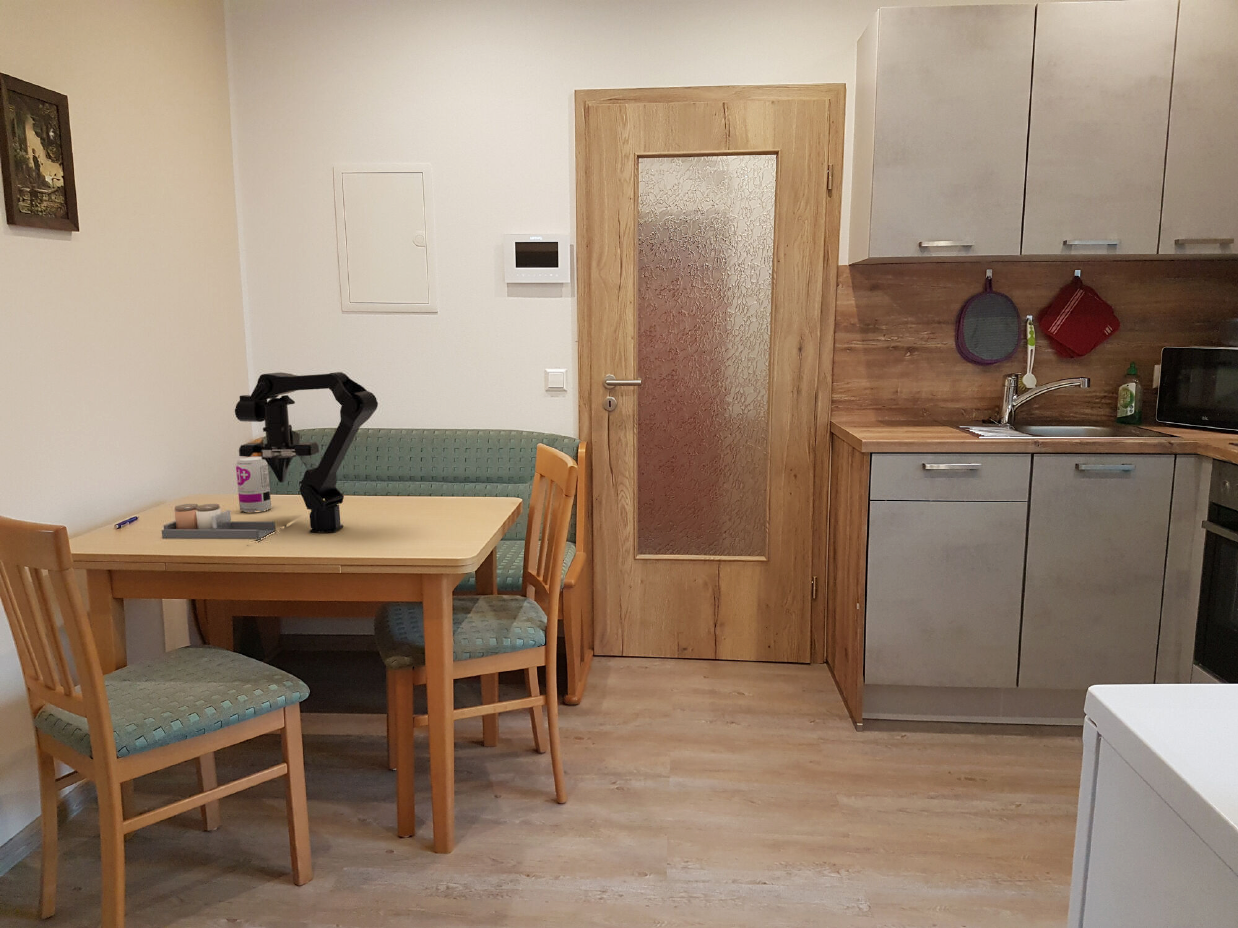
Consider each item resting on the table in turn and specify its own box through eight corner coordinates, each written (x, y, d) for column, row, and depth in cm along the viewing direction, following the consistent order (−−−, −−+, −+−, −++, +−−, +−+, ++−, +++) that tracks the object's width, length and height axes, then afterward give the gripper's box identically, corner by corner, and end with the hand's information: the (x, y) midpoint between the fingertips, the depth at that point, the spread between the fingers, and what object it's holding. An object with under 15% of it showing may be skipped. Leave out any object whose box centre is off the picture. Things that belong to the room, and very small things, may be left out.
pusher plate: (231, 529, 215) (230, 510, 214) (217, 536, 208) (215, 516, 207) (228, 529, 215) (226, 510, 214) (213, 536, 208) (211, 516, 207)
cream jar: (226, 530, 214) (224, 503, 213) (215, 536, 209) (212, 508, 208) (205, 530, 215) (203, 503, 213) (193, 536, 209) (191, 508, 208)
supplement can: (250, 515, 236) (245, 461, 233) (234, 511, 241) (229, 459, 238) (277, 509, 242) (272, 457, 240) (261, 506, 247) (256, 455, 245)
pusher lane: (275, 532, 215) (274, 517, 215) (257, 542, 206) (256, 526, 205) (184, 532, 217) (183, 517, 216) (162, 542, 208) (161, 526, 207)
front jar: (205, 530, 215) (203, 503, 213) (193, 536, 209) (190, 508, 208) (185, 530, 215) (182, 503, 214) (172, 536, 210) (169, 508, 208)
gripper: (324, 418, 224) (329, 476, 227) (255, 418, 225) (261, 476, 228) (307, 423, 213) (312, 484, 216) (235, 424, 214) (240, 484, 217)
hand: (281, 482), depth 219 cm, fingers closed
